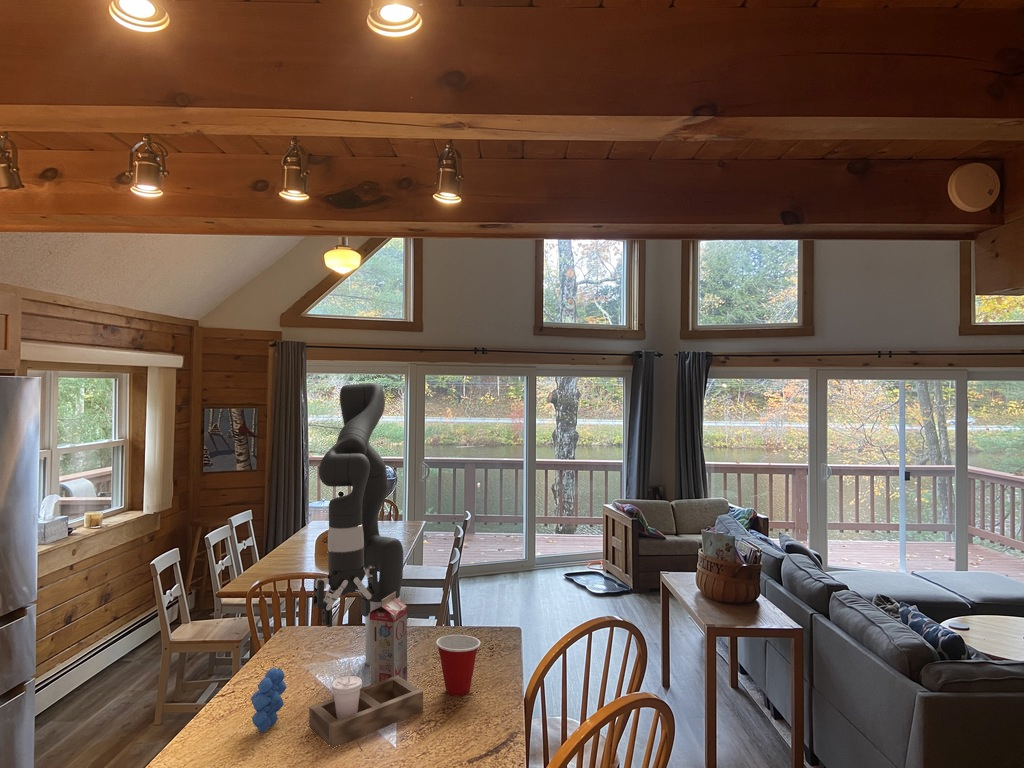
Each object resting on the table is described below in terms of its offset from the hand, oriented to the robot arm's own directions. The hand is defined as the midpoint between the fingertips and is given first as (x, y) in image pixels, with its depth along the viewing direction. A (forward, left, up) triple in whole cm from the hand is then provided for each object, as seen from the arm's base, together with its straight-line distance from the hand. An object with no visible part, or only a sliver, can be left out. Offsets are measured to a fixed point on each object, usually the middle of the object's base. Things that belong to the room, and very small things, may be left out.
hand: (346, 620), depth 134 cm
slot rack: (-5, 0, -23) cm, 23 cm away
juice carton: (-17, -11, -23) cm, 31 cm away
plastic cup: (-28, +3, -23) cm, 36 cm away
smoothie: (0, 0, -23) cm, 23 cm away
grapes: (+13, -13, -23) cm, 29 cm away
